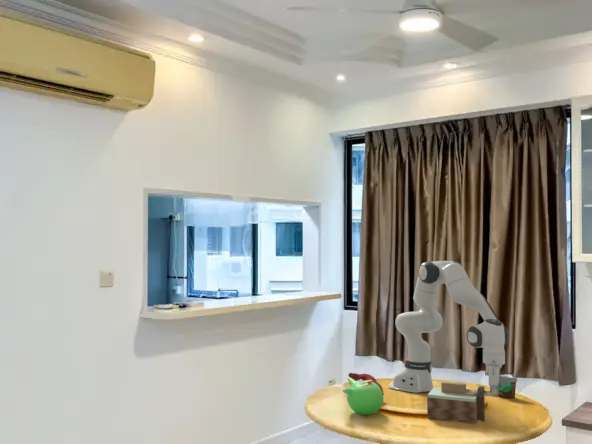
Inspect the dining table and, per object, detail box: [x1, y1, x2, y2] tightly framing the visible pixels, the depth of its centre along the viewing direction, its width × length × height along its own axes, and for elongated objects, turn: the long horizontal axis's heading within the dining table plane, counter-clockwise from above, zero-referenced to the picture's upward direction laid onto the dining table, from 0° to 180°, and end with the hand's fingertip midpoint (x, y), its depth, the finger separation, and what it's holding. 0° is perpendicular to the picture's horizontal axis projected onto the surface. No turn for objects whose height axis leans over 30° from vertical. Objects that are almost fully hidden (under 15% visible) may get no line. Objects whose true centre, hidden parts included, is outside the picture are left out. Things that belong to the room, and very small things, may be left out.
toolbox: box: [426, 385, 486, 425], centre depth 257 cm, size 22×14×13 cm, turn 67°
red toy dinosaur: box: [348, 372, 385, 396], centre depth 292 cm, size 28×9×15 cm
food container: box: [497, 375, 518, 399], centre depth 289 cm, size 12×6×10 cm, turn 37°
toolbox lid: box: [427, 381, 478, 402], centre depth 257 cm, size 19×14×6 cm
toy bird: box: [342, 376, 384, 416], centre depth 262 cm, size 18×17×15 cm
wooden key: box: [465, 386, 499, 398], centre depth 253 cm, size 13×2×4 cm, turn 67°
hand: (494, 392), depth 251 cm, fingers closed on wooden key, 3 cm apart
